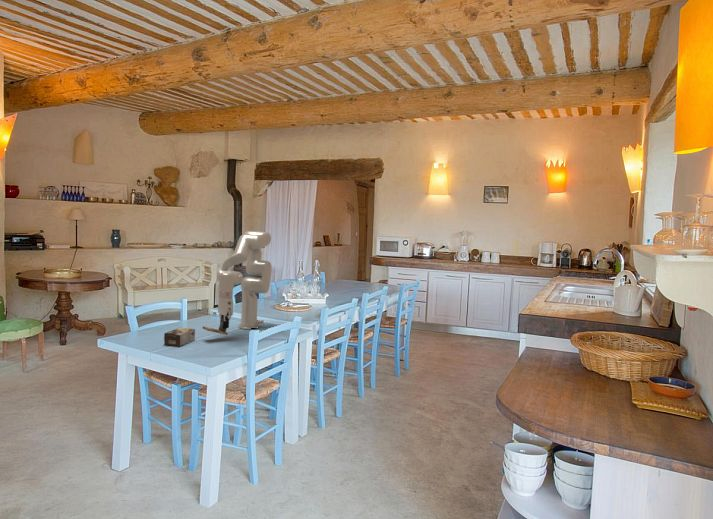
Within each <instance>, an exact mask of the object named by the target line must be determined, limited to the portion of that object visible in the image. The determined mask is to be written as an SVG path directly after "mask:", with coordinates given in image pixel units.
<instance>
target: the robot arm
mask: <svg viewBox="0 0 713 519" xmlns="http://www.w3.org/2000/svg"><path fill="white" fill-rule="evenodd" d="M271 240H272V236H271V234H270V232H268V231H260V230H259V231H257V230H247V231H245V232H243V234H242V235H240V236H239V238H238V240H237V243H236V246H235V249H234V252H233V253H232V255H230V256H229V257H228V258H226V259H225V260H224V261H223V262H222V263H221V265H220V267H219V269H218V271H217V272H218V273H217V281H218V303H217V312H218V315H219V320H220V321H219V322H220V323H221V320H222V317H223V315H224V321H223V328H227V329H228V328H229V327H230V320H231V318H232V316H233V315H234V301H233V296H234V295H233V294H234V292H233V290H234V285H235V286H236V285H237V286H238V285H240V288H241V318H240V320H241V321H240V324H238V329H241V328H242V330H252V329H251V328H257V327H259V328H260V325H261V324H265V323H264V320H260V319H258V303H259V302H258V300H259V299H258V296H257V295H256V294H267V293H268V292H269V290H270V285H271V278H272V272H273V267H272V263H271V262H270V261H268V260H262V255H263V253H262V249H263V248H266V247H267V246H269V245H270V243H271ZM244 262H246V266H245V272H246V274H248V275H253V276H245V277H244V275H243V273H242V272H241V271H233V270H229V269H230V268H232V267H233V266H236V265H237V266H238V265H240V264H243V263H244ZM256 276H258V277H256ZM259 276H261V277H259ZM227 314H228V315H227ZM257 329H258V328H257Z"/></svg>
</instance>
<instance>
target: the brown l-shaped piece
mask: <svg viewBox="0 0 713 519" xmlns="http://www.w3.org/2000/svg"><path fill="white" fill-rule="evenodd" d="M227 315H228V314H227ZM223 321H224V315H223V317H222V320H221V323H220V324H219V327H218V329H216V328H212V327H207V326H202V329H203V330H205V331H208V332H211V333H217V334H222V335H226V336H227V335H228V334H229V333H228V332H227V329H228V328H223Z"/></svg>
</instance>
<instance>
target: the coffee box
mask: <svg viewBox="0 0 713 519" xmlns="http://www.w3.org/2000/svg"><path fill="white" fill-rule="evenodd" d="M163 335H164V336H163V342H164V343H163V344H164V346H169V345H170V347H182V346H185V345H186V344H188V343H191V342H192V341H195V339H196V329H195V328H190V327H183V326H182V327H177V328H175V329H172V330H169V331H167V332H165V333H164V334H163Z"/></svg>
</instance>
